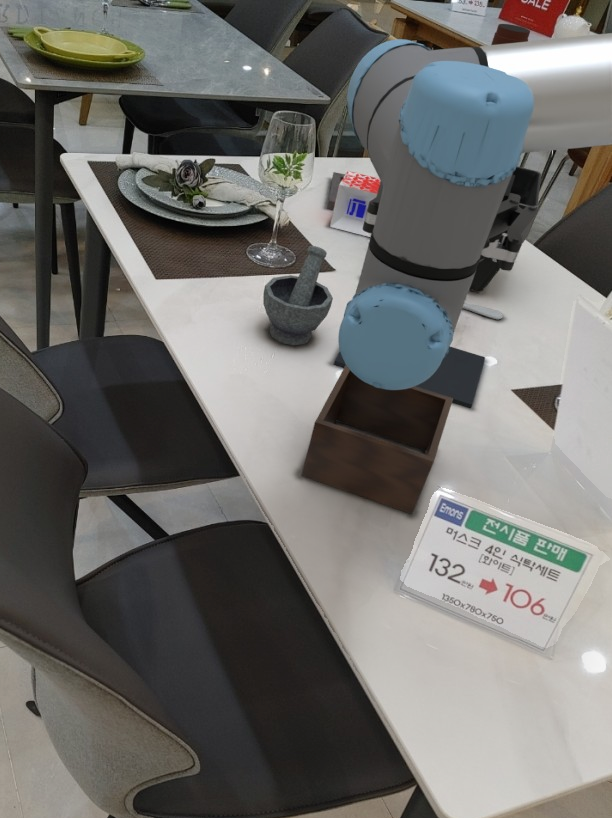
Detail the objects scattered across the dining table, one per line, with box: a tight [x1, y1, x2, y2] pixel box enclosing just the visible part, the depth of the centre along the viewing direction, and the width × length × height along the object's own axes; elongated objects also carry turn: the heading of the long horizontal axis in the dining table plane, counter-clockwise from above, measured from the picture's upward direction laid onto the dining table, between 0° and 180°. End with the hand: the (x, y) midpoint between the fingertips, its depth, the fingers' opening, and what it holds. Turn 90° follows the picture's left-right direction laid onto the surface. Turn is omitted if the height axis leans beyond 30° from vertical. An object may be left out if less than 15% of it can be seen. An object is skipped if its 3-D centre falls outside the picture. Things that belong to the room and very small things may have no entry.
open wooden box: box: [301, 365, 453, 515], centre depth 91 cm, size 14×14×8 cm
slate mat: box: [333, 346, 486, 409], centre depth 112 cm, size 20×14×1 cm
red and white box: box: [329, 170, 381, 238], centre depth 144 cm, size 8×8×8 cm
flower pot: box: [469, 165, 542, 293], centre depth 131 cm, size 19×19×17 cm
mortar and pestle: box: [262, 245, 334, 347], centre depth 110 cm, size 11×9×12 cm
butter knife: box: [462, 302, 504, 320], centre depth 128 cm, size 1×24×3 cm
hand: (466, 177), depth 78 cm, fingers closed on wine bottle, 7 cm apart
